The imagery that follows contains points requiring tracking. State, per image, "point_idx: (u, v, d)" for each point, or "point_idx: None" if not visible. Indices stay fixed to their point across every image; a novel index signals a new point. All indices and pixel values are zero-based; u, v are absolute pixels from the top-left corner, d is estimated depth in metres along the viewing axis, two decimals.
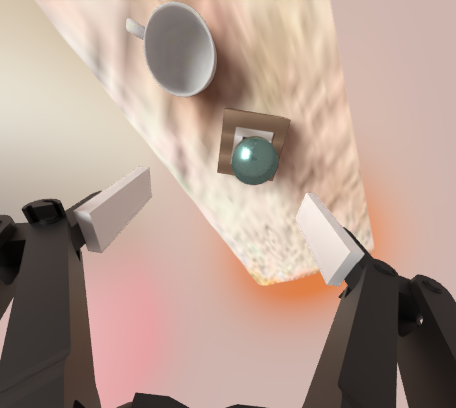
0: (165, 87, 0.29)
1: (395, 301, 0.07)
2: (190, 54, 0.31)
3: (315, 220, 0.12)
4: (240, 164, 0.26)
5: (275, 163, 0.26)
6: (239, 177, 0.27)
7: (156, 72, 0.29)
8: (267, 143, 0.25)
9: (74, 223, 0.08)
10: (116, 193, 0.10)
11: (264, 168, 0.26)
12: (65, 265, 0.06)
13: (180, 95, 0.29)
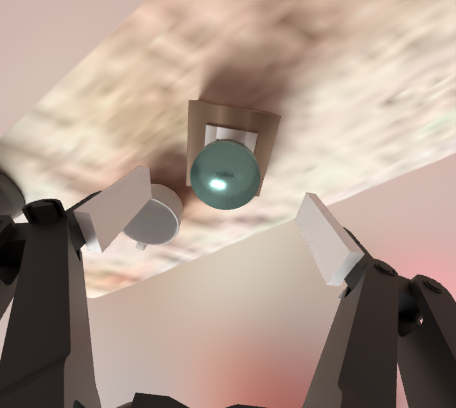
0: (174, 234, 0.32)
1: (395, 301, 0.07)
2: (155, 202, 0.36)
3: (315, 220, 0.12)
4: (227, 199, 0.18)
5: (224, 148, 0.16)
6: (246, 199, 0.18)
7: (166, 237, 0.34)
8: (194, 164, 0.17)
9: (74, 223, 0.08)
10: (116, 193, 0.10)
11: (232, 165, 0.17)
12: (65, 265, 0.06)
13: (177, 225, 0.31)
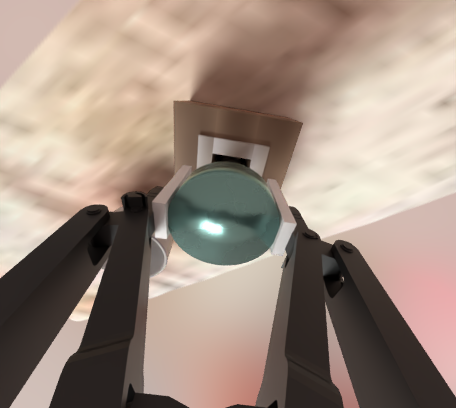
0: (161, 267, 0.26)
1: (320, 260, 0.08)
2: None
3: None
4: (226, 252, 0.12)
5: (220, 182, 0.09)
6: (255, 253, 0.12)
7: (152, 268, 0.28)
8: (172, 204, 0.10)
9: (151, 212, 0.10)
10: (176, 188, 0.12)
11: (234, 207, 0.10)
12: (141, 251, 0.07)
13: (165, 258, 0.25)
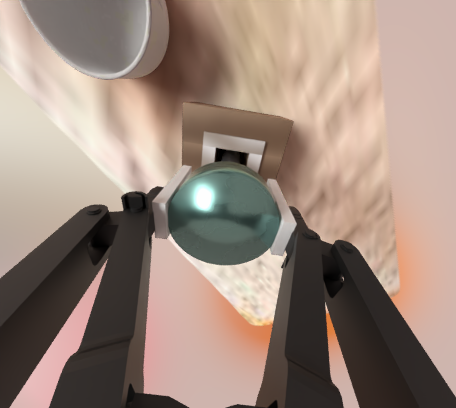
0: (72, 61, 0.16)
1: (319, 260, 0.08)
2: (127, 10, 0.19)
3: None
4: (226, 252, 0.12)
5: (220, 182, 0.09)
6: (255, 253, 0.12)
7: (55, 34, 0.16)
8: (173, 204, 0.10)
9: (151, 212, 0.10)
10: (176, 188, 0.12)
11: (234, 206, 0.10)
12: (141, 251, 0.07)
13: (100, 76, 0.16)
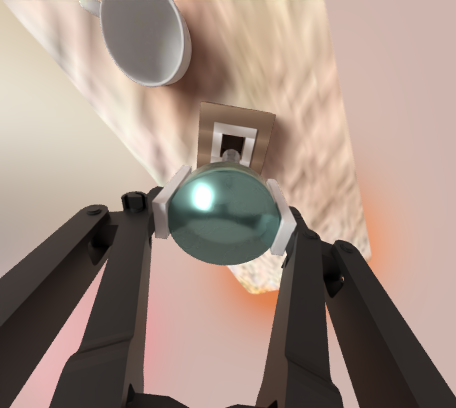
0: (130, 75, 0.25)
1: (320, 260, 0.08)
2: (162, 39, 0.27)
3: None
4: (226, 252, 0.12)
5: (220, 182, 0.09)
6: (255, 253, 0.12)
7: (120, 58, 0.25)
8: (173, 204, 0.10)
9: (151, 212, 0.10)
10: (176, 188, 0.12)
11: (234, 207, 0.10)
12: (141, 251, 0.07)
13: (148, 85, 0.25)
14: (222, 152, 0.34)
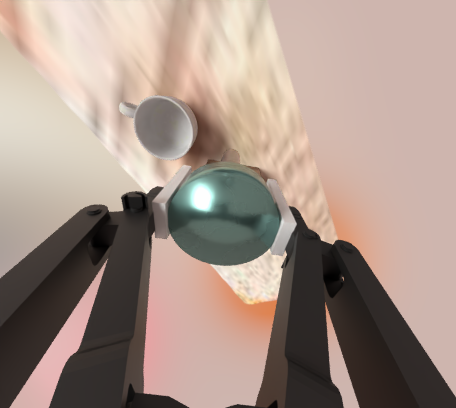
0: (152, 152, 0.34)
1: (319, 260, 0.08)
2: (175, 120, 0.36)
3: None
4: (226, 252, 0.12)
5: (220, 183, 0.09)
6: (255, 254, 0.12)
7: (145, 140, 0.34)
8: (172, 205, 0.10)
9: (151, 212, 0.10)
10: (176, 188, 0.12)
11: (234, 207, 0.10)
12: (141, 251, 0.07)
13: (165, 159, 0.34)
14: None
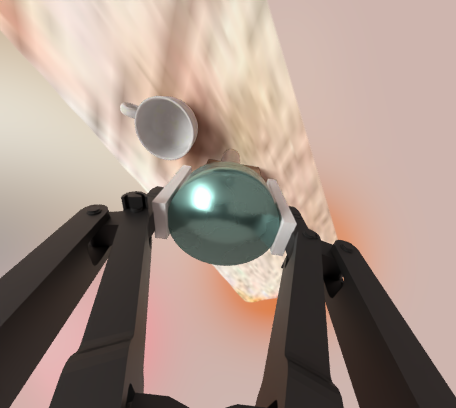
0: (153, 152, 0.34)
1: (320, 260, 0.08)
2: (176, 120, 0.37)
3: None
4: (226, 252, 0.12)
5: (220, 182, 0.09)
6: (255, 254, 0.12)
7: (146, 140, 0.34)
8: (172, 205, 0.10)
9: (151, 212, 0.10)
10: (176, 188, 0.12)
11: (234, 207, 0.10)
12: (141, 251, 0.07)
13: (166, 158, 0.34)
14: None
